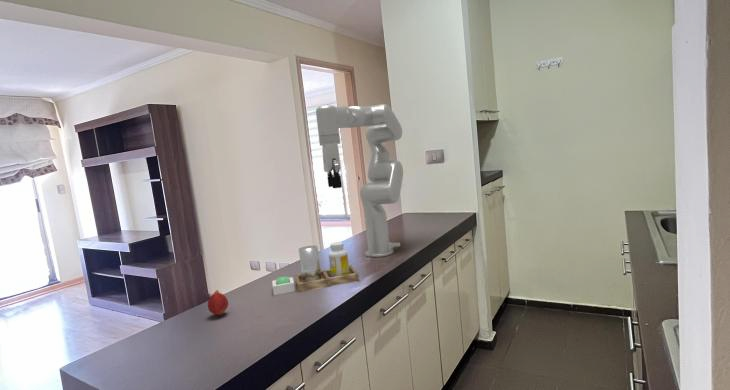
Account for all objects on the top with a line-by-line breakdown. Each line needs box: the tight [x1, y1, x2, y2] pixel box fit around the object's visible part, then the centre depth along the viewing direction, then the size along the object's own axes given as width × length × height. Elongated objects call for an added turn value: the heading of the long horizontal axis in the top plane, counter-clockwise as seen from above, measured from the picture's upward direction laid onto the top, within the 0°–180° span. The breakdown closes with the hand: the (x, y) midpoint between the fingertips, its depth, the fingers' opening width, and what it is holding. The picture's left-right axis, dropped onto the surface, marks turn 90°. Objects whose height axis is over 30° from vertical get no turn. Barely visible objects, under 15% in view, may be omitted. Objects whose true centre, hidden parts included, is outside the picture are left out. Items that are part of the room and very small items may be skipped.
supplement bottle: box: [328, 241, 350, 277], centre depth 139 cm, size 7×7×13 cm
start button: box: [276, 275, 290, 285], centre depth 133 cm, size 4×4×5 cm
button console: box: [271, 276, 296, 296], centre depth 133 cm, size 7×7×4 cm
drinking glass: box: [298, 245, 322, 283], centre depth 136 cm, size 7×7×13 cm
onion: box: [207, 289, 229, 317], centre depth 119 cm, size 6×6×8 cm
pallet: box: [294, 265, 360, 293], centre depth 138 cm, size 21×12×4 cm, turn 104°
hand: (335, 187), depth 143 cm, fingers open, 9 cm apart
